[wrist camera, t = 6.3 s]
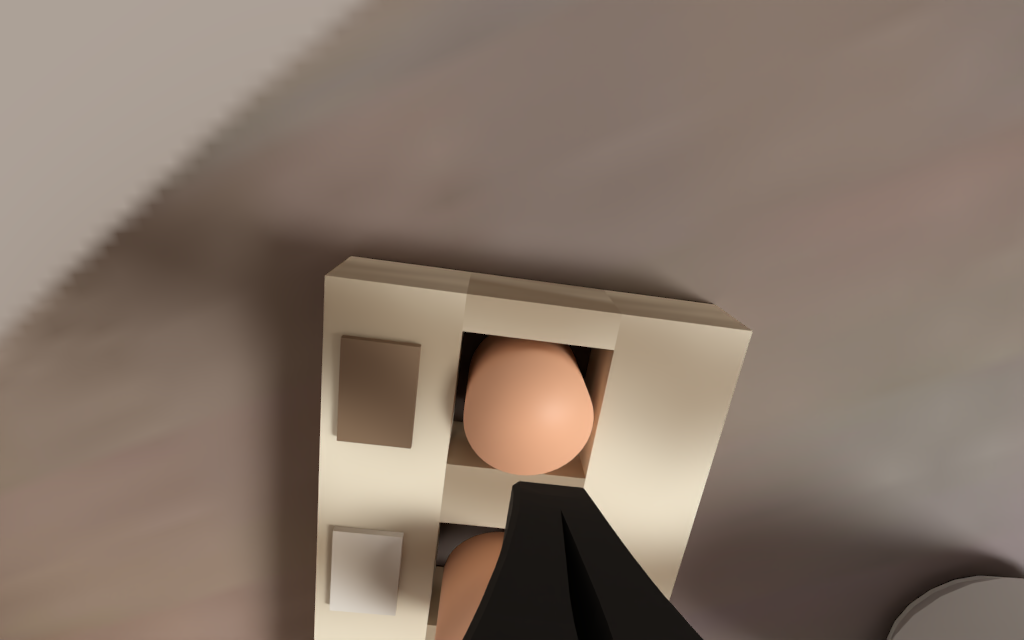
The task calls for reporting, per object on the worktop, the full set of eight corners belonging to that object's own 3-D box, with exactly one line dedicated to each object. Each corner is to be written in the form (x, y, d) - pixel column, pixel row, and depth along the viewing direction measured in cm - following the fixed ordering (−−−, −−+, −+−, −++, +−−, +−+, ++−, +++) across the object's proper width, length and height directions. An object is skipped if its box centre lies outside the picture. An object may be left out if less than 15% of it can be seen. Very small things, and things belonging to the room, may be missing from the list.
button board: (599, 715, 21) (613, 790, 19) (331, 696, 20) (308, 772, 18) (715, 304, 16) (756, 333, 13) (351, 256, 15) (322, 277, 12)
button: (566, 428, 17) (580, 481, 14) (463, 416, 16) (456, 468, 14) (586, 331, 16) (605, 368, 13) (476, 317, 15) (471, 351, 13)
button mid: (542, 622, 17) (551, 712, 14) (438, 613, 16) (426, 703, 14) (560, 537, 15) (573, 617, 13) (448, 526, 15) (438, 606, 13)
